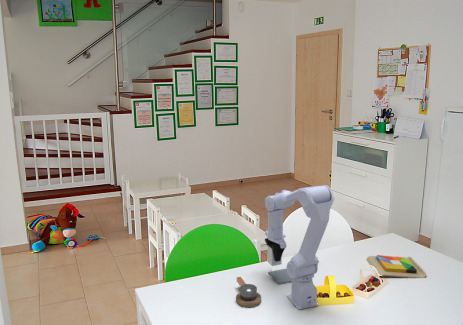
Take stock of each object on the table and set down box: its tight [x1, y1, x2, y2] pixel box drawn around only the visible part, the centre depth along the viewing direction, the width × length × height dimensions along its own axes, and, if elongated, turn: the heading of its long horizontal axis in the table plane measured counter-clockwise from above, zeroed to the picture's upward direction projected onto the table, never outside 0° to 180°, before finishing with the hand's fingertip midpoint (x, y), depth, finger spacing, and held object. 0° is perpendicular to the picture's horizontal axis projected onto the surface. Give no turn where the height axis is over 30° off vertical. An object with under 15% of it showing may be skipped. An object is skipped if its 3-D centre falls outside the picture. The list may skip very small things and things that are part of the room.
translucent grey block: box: [267, 245, 282, 267], centre depth 161 cm, size 4×4×7 cm
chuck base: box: [235, 292, 262, 309], centre depth 148 cm, size 9×9×2 cm
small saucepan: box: [236, 276, 258, 301], centre depth 151 cm, size 14×6×3 cm, turn 19°
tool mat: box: [267, 268, 292, 285], centre depth 166 cm, size 10×10×1 cm
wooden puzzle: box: [366, 254, 427, 279], centre depth 171 cm, size 18×19×4 cm
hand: (275, 258), depth 162 cm, fingers closed on translucent grey block, 4 cm apart
